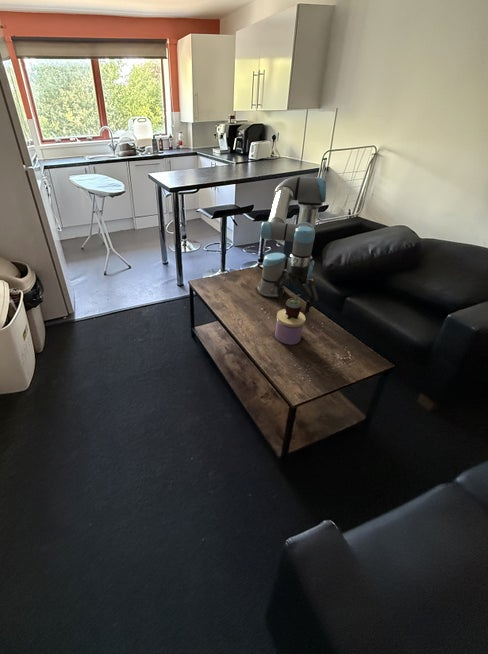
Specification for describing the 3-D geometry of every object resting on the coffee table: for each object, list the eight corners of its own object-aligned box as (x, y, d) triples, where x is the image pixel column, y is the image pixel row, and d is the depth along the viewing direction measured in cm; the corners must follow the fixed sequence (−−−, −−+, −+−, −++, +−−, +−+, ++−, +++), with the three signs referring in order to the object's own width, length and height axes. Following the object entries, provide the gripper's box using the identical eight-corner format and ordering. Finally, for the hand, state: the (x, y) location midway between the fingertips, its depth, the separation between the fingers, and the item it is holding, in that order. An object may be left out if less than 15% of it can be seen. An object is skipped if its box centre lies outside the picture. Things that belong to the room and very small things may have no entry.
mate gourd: (288, 310, 150) (293, 282, 142) (304, 316, 145) (309, 288, 137) (280, 316, 145) (284, 288, 138) (295, 323, 140) (300, 294, 133)
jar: (283, 325, 159) (286, 305, 153) (306, 336, 151) (310, 316, 145) (269, 336, 151) (271, 316, 146) (292, 348, 143) (296, 328, 138)
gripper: (269, 258, 138) (264, 299, 149) (324, 276, 122) (314, 321, 133) (278, 253, 142) (273, 293, 153) (333, 270, 126) (323, 314, 137)
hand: (292, 306), depth 143 cm, fingers open, 13 cm apart
